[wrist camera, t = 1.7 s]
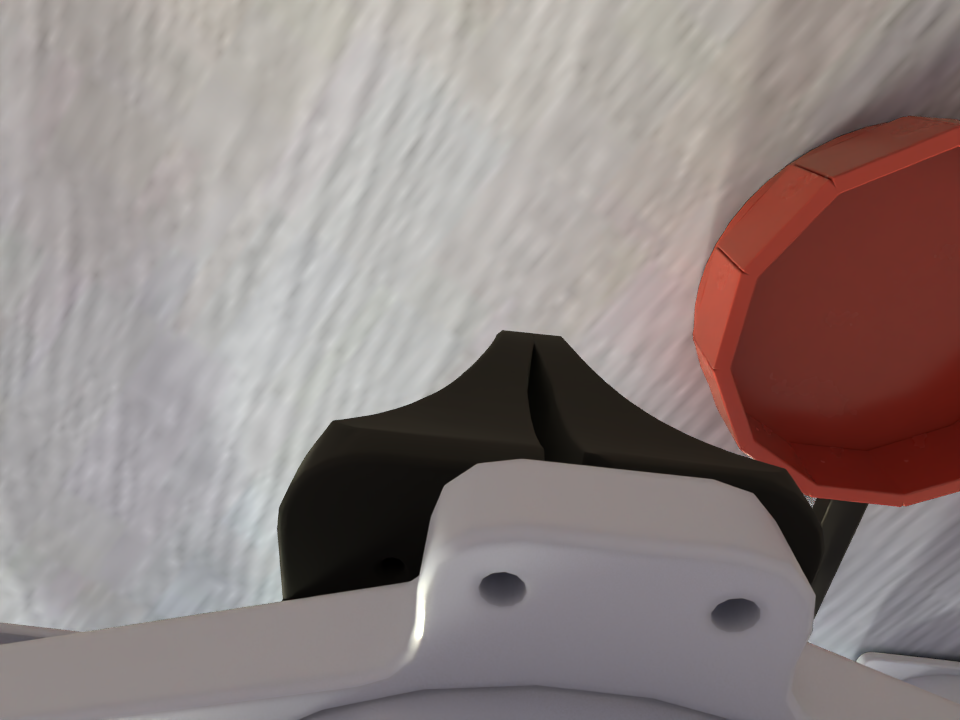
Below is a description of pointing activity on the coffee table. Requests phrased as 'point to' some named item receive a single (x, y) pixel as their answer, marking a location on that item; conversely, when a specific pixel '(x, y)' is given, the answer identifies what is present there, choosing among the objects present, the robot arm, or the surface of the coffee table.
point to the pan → (845, 324)
